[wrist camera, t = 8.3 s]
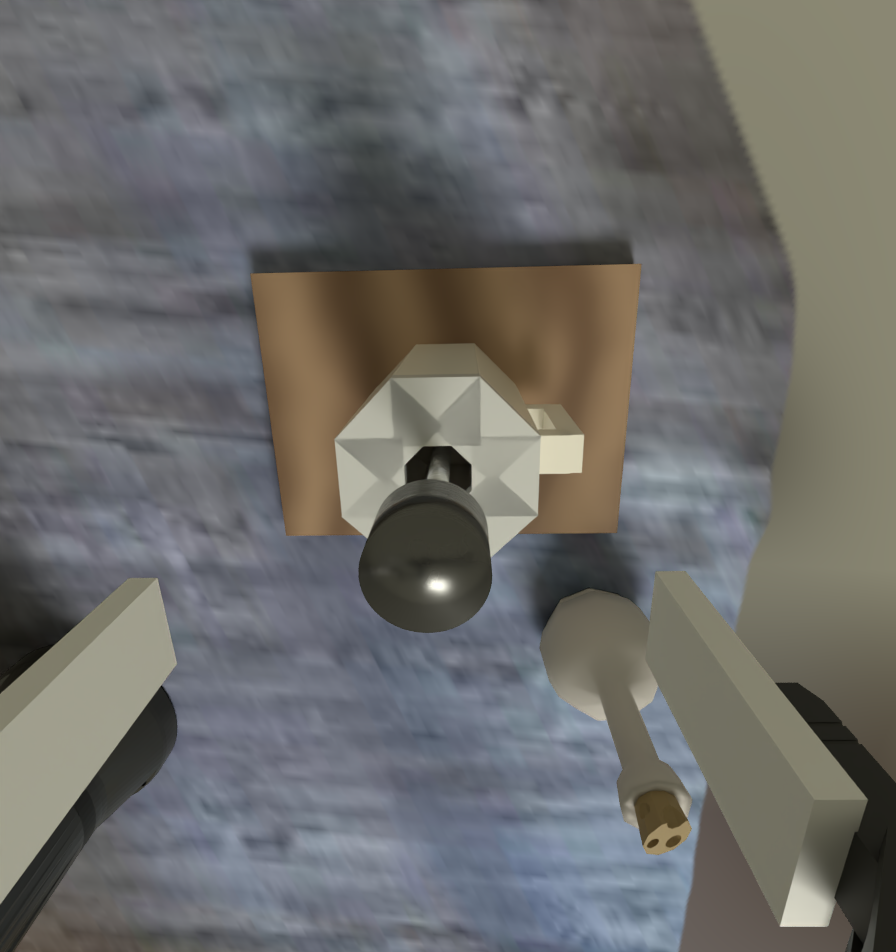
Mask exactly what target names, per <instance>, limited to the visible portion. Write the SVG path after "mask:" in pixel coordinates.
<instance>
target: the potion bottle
mask: <svg viewBox="0 0 896 952" xmlns="http://www.w3.org/2000/svg"><path fill="white" fill-rule="evenodd" d="M649 623H650V622H649V620H648V619H647V618H646V616H645V615H644V614H643V612H642V611H641V609H640V608H639V607H637V606H636V605H635V604H634V603H633V602H631V601H630V600H629V599H628V598H624V597H620V596H619V594H616V593H611V592H607V591H602V590H598V589H593V588H587V589H584V590H582V591H579V592H577V593H574V594H572V595H569V596H567V597H564V598H562V599H560V601H559V603H558V604H557V606H556V608H555V609H554V611H553V613H552V615H551V616H550V618H549V620H548V621H547V625H546V627H545V628H544V630H543V632H542V637H541V642H540V651H541V654H542V658H543V661H544V665H545V668H546V671H547V675H548V678H549V681H550V683H551V684H552V686H553V688H554V689H555V691H556V693H557V694H558V696H559V697H560V698H562V699H563V700H564V701H566V702H567V703H569V704H570V705H572V706H573V707H575V708H576V709H578V710H580V711H582V712H583V713H585V714H587V715H589V716H591V717H592V718H594V719H596V720H598V721H601V720H607V722H608V725H609V729H610V732H611V735H612V738H613V741H614V744H615V747H616V750H617V753H618V756H619V759H620V763H621V766H622V769H623V770H622V772H621V774H620V776H619V778H618V780H617V788H618V795H619V802H620V807H621V810H622V814H623V818H624V821H625V822H627V823H629V824H630V825H632V826H634V827H636V828H638V829H639V831H640V835H641V840H642V845H643V847H644V849H645V851H646V853H647V854H655V855H659V854H662V853H665V852H668V851H670V850H673V849H675V848H676V847H677V846H678V845H680V844H681V843H682V842H684V841H685V840H686V839H687V837H688V835H689V833H690V831H691V829H692V828H691V826H690V824H689V821H688V819H687V817H688V814H689V810H690V806H691V803H692V798H691V796H690V795H689V793H688V791H687V790H686V788H685V787H684V785H683V783H682V782H681V780H680V779H679V777H678V776H677V775H676V773H675V772H674V771H673V770H672V768H671V767H670V766H669V765H668V764H666V763H664V762H662V761H661V760H659V758H658V756H657V753H656V751H655V748H654V746H653V743H652V741H651V739H650V736H649V734H648V731H647V729H646V726H645V724H644V721H643V719H642V716H641V714H640V710H641V709H642V708H644V707H645V706H646V705H648V704H649V703H651V702H652V701H653V698H654V695H655V693H656V690H657V686H658V684H657V682H656V680H655V678H654V676H653V674H652V672H651V670H650V668H649V666H648V664H647V662H646V660H645V657H646V649H647V640H648V632H649Z"/></svg>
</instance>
